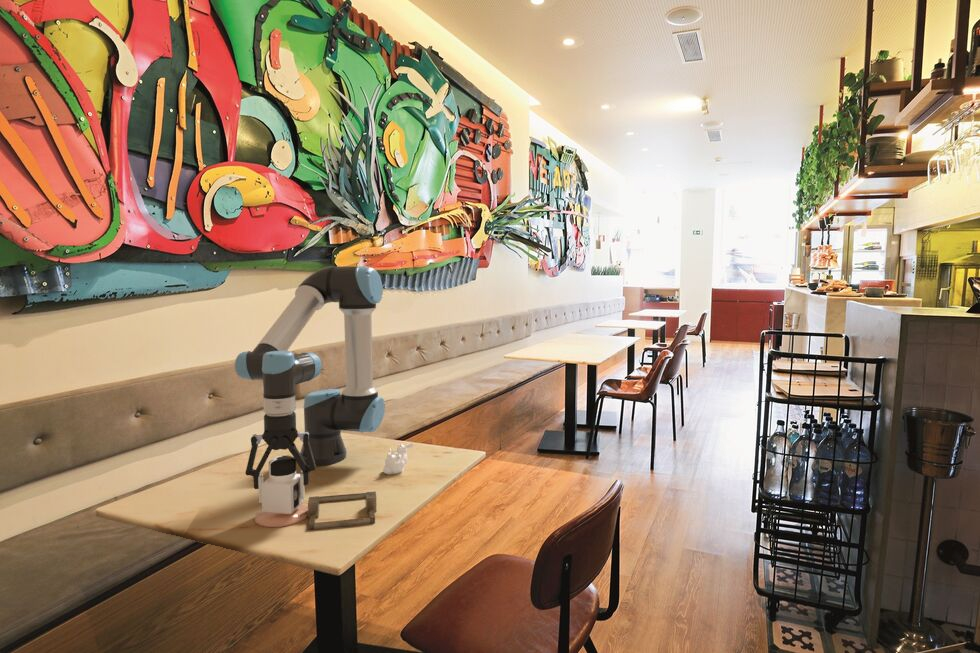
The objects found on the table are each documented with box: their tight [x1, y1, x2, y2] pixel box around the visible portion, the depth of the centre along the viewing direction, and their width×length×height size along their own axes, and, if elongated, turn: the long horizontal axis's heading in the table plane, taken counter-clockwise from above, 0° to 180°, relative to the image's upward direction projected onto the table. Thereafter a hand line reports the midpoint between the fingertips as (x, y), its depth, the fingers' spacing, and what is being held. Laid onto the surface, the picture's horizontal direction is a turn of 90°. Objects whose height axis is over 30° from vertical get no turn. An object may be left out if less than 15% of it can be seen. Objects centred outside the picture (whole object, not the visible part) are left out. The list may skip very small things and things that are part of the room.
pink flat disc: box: [254, 503, 308, 528], centre depth 142 cm, size 13×13×1 cm
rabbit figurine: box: [382, 442, 414, 475], centre depth 175 cm, size 12×8×10 cm, turn 146°
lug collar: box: [307, 491, 377, 531], centre depth 145 cm, size 17×17×4 cm
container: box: [261, 455, 305, 514], centre depth 142 cm, size 8×8×13 cm
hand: (282, 498), depth 142 cm, fingers closed on container, 9 cm apart
